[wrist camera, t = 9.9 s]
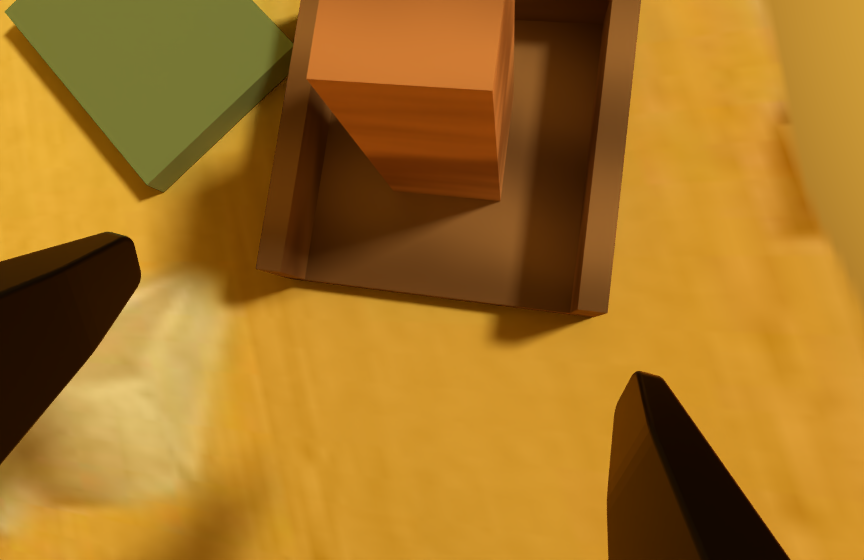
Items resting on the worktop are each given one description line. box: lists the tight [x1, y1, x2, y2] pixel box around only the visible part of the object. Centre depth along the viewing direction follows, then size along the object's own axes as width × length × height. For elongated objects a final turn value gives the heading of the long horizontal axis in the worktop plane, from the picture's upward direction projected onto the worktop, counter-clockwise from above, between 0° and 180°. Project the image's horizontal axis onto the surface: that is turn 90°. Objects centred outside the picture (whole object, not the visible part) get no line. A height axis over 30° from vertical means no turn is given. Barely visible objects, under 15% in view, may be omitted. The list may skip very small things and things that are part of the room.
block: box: [306, 0, 515, 201], centre depth 18 cm, size 4×4×10 cm
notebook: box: [5, 0, 293, 192], centre depth 26 cm, size 12×9×1 cm
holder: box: [256, 0, 641, 317], centre depth 22 cm, size 13×13×3 cm
